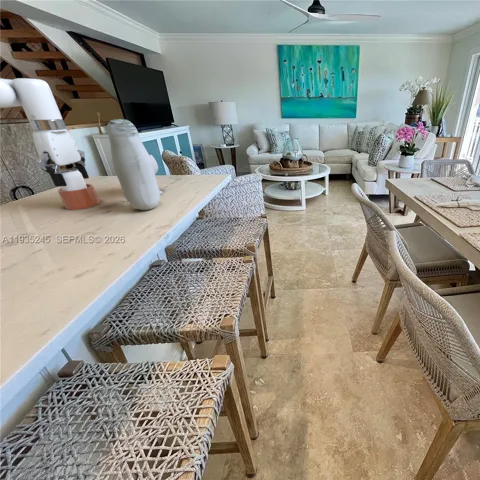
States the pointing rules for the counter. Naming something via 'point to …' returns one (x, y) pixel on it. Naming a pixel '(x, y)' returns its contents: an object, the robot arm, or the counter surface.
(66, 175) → the can
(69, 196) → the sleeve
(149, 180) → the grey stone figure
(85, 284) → the counter surface
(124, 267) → the counter surface
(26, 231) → the counter surface
